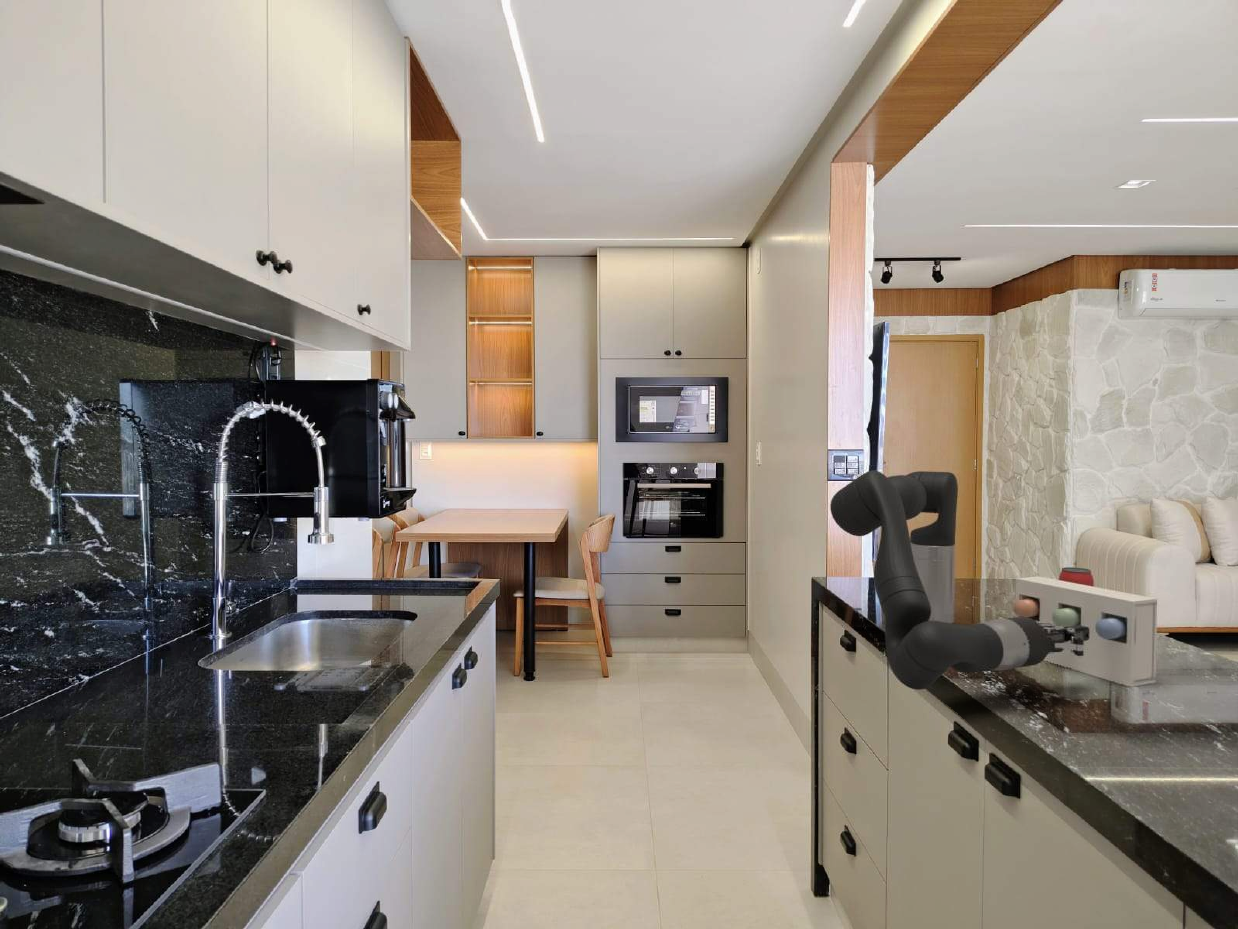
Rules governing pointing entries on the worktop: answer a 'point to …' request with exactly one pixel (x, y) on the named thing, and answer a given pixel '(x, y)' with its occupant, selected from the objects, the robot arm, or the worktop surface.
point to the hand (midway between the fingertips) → (1084, 632)
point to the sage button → (1067, 617)
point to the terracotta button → (1027, 608)
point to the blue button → (1111, 628)
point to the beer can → (1077, 576)
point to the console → (1102, 657)
